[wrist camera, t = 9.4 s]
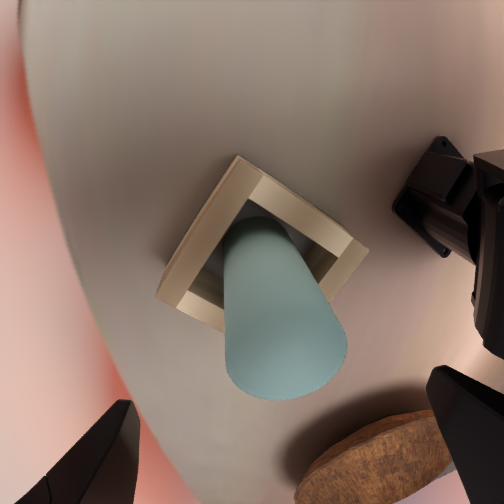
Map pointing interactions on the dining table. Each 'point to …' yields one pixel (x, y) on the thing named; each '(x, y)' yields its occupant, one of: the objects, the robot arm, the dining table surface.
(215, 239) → the socket
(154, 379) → the dining table surface
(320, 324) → the peg
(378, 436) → the bowl
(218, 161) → the dining table surface
